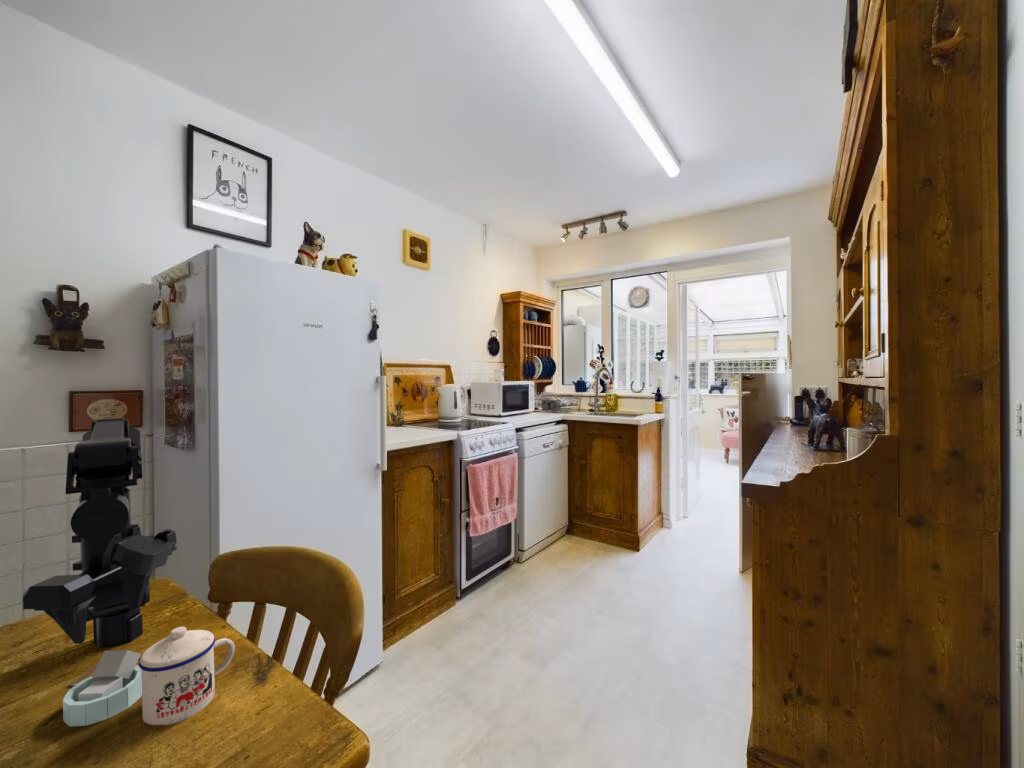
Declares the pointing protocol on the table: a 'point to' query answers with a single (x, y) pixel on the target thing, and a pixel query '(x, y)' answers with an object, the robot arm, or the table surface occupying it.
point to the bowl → (100, 701)
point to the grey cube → (116, 664)
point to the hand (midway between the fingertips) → (109, 625)
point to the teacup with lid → (180, 675)
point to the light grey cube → (101, 688)
